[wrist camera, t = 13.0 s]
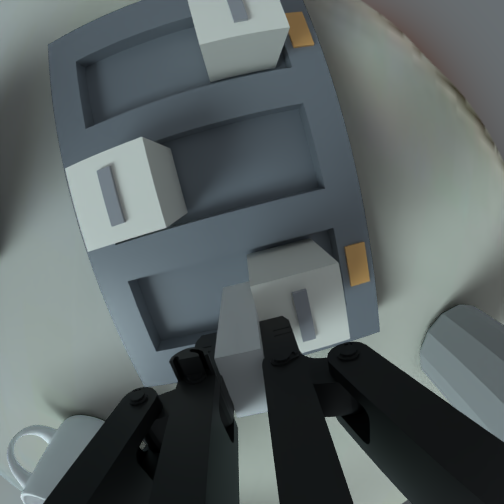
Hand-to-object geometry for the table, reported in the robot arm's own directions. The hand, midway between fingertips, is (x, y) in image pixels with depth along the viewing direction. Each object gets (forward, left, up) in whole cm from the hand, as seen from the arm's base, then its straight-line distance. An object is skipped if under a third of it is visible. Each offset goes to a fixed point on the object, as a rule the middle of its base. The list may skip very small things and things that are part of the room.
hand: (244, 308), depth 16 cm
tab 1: (-7, -4, -3) cm, 8 cm away
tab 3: (0, +3, -3) cm, 4 cm away
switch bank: (-7, 0, -4) cm, 8 cm away
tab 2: (-14, +3, -3) cm, 15 cm away
